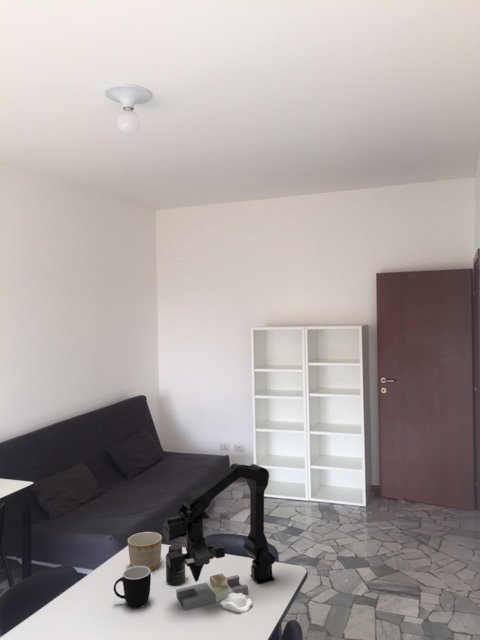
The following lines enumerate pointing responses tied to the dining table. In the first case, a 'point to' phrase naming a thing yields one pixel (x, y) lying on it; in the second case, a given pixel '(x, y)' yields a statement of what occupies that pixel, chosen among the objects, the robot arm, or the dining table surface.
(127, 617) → the dining table surface
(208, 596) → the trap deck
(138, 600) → the mug
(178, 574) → the supplement bottle
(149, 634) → the dining table surface
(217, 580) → the birch block
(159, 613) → the dining table surface
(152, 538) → the planter
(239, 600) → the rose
